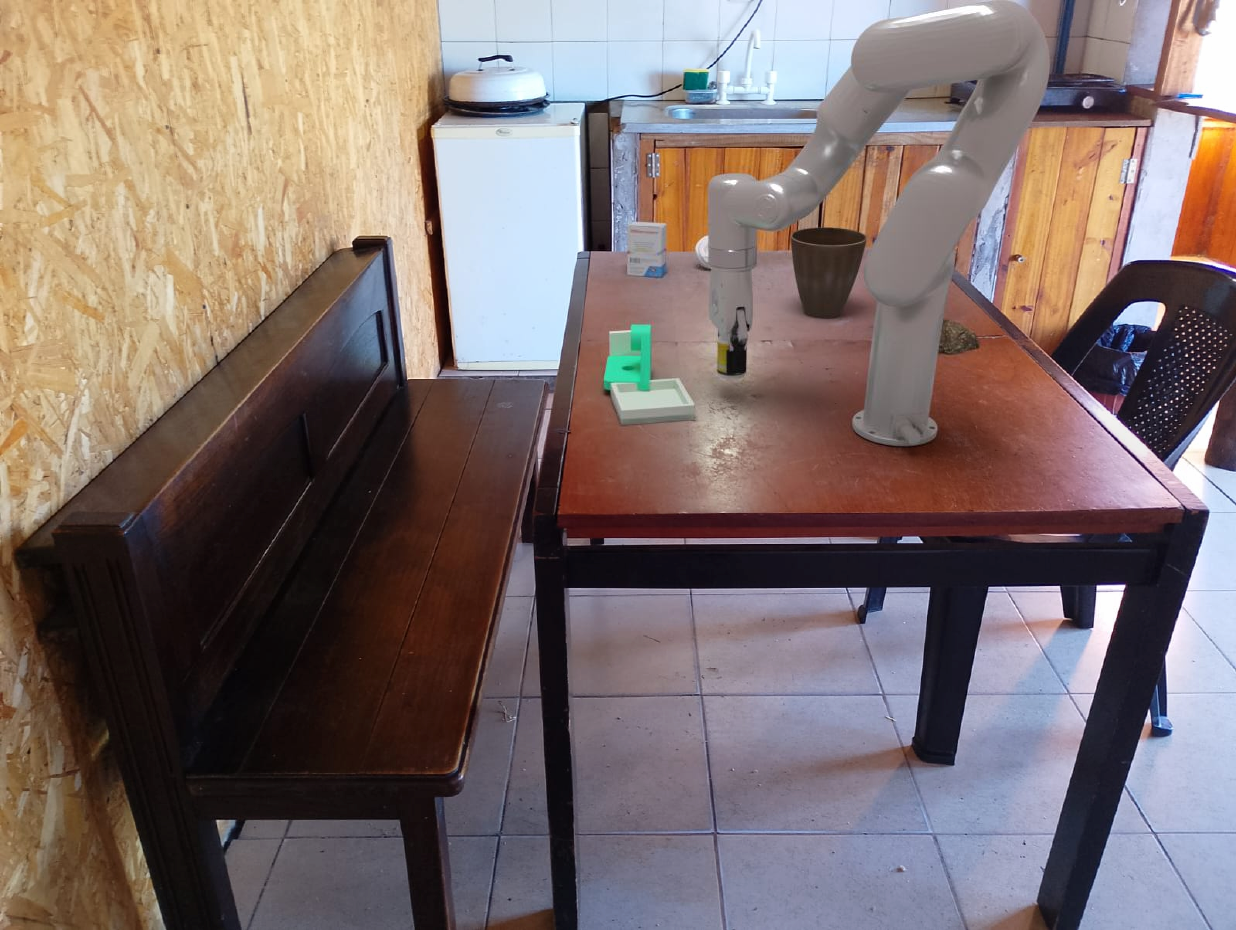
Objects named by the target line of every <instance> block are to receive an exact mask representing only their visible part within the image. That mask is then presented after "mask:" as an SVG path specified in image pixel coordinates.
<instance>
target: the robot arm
mask: <svg viewBox="0 0 1236 930" xmlns="http://www.w3.org/2000/svg"><path fill="white" fill-rule="evenodd" d="M1050 63H1051V59H1050V50H1049V44H1048V41H1047V38H1046V36H1045V33H1044V31H1043V30H1042V27H1041V26H1040V24H1039V22H1038V21H1037V19H1036V18H1035V17H1034V15H1033V14H1032V13H1031V12H1030V11H1029V10H1028V9H1027V8H1026V7H1024V5H1022V4H1019V3H1018V2H1015V1H1013V0H988V1H980V2H974V3H970V4H965V5H961V6H956V7H952V8H945V9H942V10H936V11H931V12H926V13H922V14H916V15H911V16H905V17H895V18H888V19H887V18H886V19H883V20H879V21H877V22H875V23H873V24H870V26H868V27H867V28H866V29H864V30H863V32H862V33H861V34H860V35H859V36H858V38H857V40H856V41H855V43H854V46H853V48H852V52H851V57H850V66H849V67H848V68H847V69H846V71H845V72H844V73H843V75H842V76H841V77H840V78H839V79H838V81H837V82H836V84H834V86H833V88H832V89H831V90H830V92H829V93H828V94H827V95H826V97H824V99H823V100H822V101H821V103H820V104H819V106H818V108H817V111H816V125H815V128H814V131H813V133H812V135H811V137H809V139H808V141H807V143H806V144H805V145H804V147H802V149H801V151H800V152H799V153H798V154H797V156H795V158H794V159H793V160H792V162H791V163H790V164H789V166H788V167H787V168H786V169H785V170H784V171H783V172H781V173H778V174H775V175H773V176H772V177H769V178H765V179H761V180H757V179H756V177H754V176H753V175H750V174H748V173H736V172H735V173H734V172H733V173H723V174H718V175H716V176H713V177H712V178H711V179H710V180H709V183H708V186H707V213H708V214H707V236H708V267H709V268H710V276H709V277H710V278H709V279H710V280H709V281H710V282H709V298H708V299H709V301H708V317H709V320H710V321H711V323H712V324H713V325H714V326H715V328H716V329H717V338H718V337H719V336H720V332H721V333H723V334H726V333H728V348H729V350H726V372H727V373H728V374H738V373H745V372H746V373H747V363H748V362H747V358H748V357H747V353H748V352H747V350H748V340H749V333H748V332H750V331H751V330H752V328H753V319H754V318H753V316H754V314H753V313H754V303H753V302H754V301H753V299H754V298H753V296H754V293H753V277H752V276H753V275H752V274H753V273H752V270H753V269H755V268H756V267H757V263H758V262H757V261H758V230H760V231H764V232H779V231H782V230H785V229H787V228H789V227H790V226H792V225H794V224H796V223H797V222H799V221H800V220H802V219H804V218H806V217H808V216H809V215H810V214H812V213H813V212H814V211H815V210H816V209H817V207H818V206H819V205H820V204H822V202H823V201H824V199H826V198H827V196H829V193H831V191H832V190H833V189H834V188H835V187H836V186H837V184H839V182H840V181H841V180H842V179H843V177H844V176H845V174H846V173H847V172H848V170H850V168H851V166H852V165H853V163H855V161H856V160H857V158H858V157H859V156H860V155H861V153H862V152H863V150H864V149H865V147H866V146H867V145H868V143H869V142H870V141H871V139H873V137H874V136H875V135H876V133H877V132H878V131H879V130H880V129H881V127H882V126H884V124H885V123H886V121H888V119H890V117H891V116H892V115H893V114H894V112H895V111H896V110H897V109H898V108H899V107H900V105H901V104H902V103H903V102H904V101H905V99H906V98H907V97H908V96H909V95H910V93H911V92H912V91H913V90H920V89H926V88H932V87H938V86H944V85H953V84H959V83H965V82H973V81H977V82H976V84H975V88H974V89H973V92H972V94H971V95H970V97H969V98H968V100H967V102H966V103H965V105H964V107H963V108H962V109H961V111H960V114H959V116H958V117H957V119H956V122H955V124H954V126H953V128H952V130H951V131H950V133H949V134H948V136H947V138H946V140H945V141H944V143H943V145H942V146H941V148H940V149H939V151H938V152H937V154H936V155H935V156H934V157H933V158H932V159H930V161H928V162H926V163H924V164H923V165H922V166H920V167H919V168H918V169H917V170H916V171H915V172H914V173H913V174H912V175H911V177H910V178H909V179H908V181H907V182H906V184H905V185H904V187H903V188H902V190H901V192H900V194H899V196H898V197H897V200H896V201H895V203H894V205H893V207H892V208H891V210H890V212H889V214H888V215H887V218H886V220H885V222H884V223H883V225H882V227H881V229H880V231H879V233H878V235H877V237H876V238H875V239H874V241H873V243H872V245H871V247H870V249H869V251H868V254H867V256H866V258H865V262H864V266H863V279H864V282H865V286H866V289H867V291H868V292H869V293H870V295H871V296H872V297H873V298H874V299H875V300H876V301H877V302H876V307H875V315H874V322H873V329H872V337H871V339H872V340H871V345H870V346H871V347H870V356H869V364H868V372H867V380H866V381H867V383H866V390H865V399H864V400H865V401H864V408H863V409H862V410H860V411H858V412H857V413H856V414H855V415H854V416H853V417H852V422H851V426H852V429H853V431H855V433H856V434H858V436H860V437H862V438H864V439H866V440H868V441H870V442H874V443H877V444H882V445H886V446H893V447H912V446H919V445H925V444H926V443H930V442H931V441H933V440H934V439H935V438H936V437H937V434H938V424H937V423H936V421H935V420H934V419H933V418H931V417H930V409H931V404H932V403H931V401H932V395H933V388H934V382H935V376H936V368H937V363H938V362H937V361H938V355H939V354H938V349H939V342H940V336H941V331H942V324H943V319H945V318H944V317H945V311H946V305H947V300H948V298H949V297H948V295H949V291H950V288H951V285H952V284H951V283H952V279H953V274H954V271H955V264H956V249H955V248H956V246H957V245H958V243H960V240H961V238H962V237H963V235H964V234H965V232H966V230H967V229H968V226H969V225H970V224H971V223H972V221H973V220H974V219H975V218H976V217H977V216H978V215H979V214H980V213H982V211H983V210H984V208H985V207H986V205H987V204H988V202H989V200H990V198H991V196H992V193H993V191H994V190H995V188H996V185H997V184H998V182H999V180H1000V178H1001V177H1002V175H1003V174H1004V172H1005V170H1006V168H1007V166H1008V165H1009V163H1010V162H1011V160H1012V158H1013V156H1014V154H1015V153H1016V150H1017V149H1018V147H1019V145H1020V144H1021V141H1022V139H1023V138H1024V136H1025V134H1026V133H1027V131H1028V130H1029V128H1030V126H1031V124H1032V122H1033V120H1034V119H1035V117H1036V115H1037V112H1038V110H1039V109H1040V106H1041V104H1042V102H1043V99H1044V96H1045V93H1046V91H1047V87H1048V83H1049V76H1050V67H1051V64H1050ZM733 327H737V331H731V330H732V328H733ZM733 335H737V338H734V341H733Z"/></svg>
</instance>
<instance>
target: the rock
mask: <svg viewBox="0 0 1236 930" xmlns="http://www.w3.org/2000/svg"><path fill="white" fill-rule="evenodd" d="M979 345H980V341H979V338H978V335H977V334H976V333H975V332H974V331H973V330H970V329H969V328H968V327H965V326H963V325H962V324H960V322H959V323H958V322H956V321H954V320H952V319H947V318H943V324H942V331H941V336H940V342H939V349H938V355H940V354H943V355H944V354H945V355H957V354H962V353H965V352H967V351H972V350H973V351H974V350H976V349H977V348H978V347H979Z"/></svg>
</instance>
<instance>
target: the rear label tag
mask: <svg viewBox="0 0 1236 930" xmlns="http://www.w3.org/2000/svg"><path fill="white" fill-rule="evenodd" d="M608 332H609V333H608V335H609V336H608V340H609V341H608V342H609V343H608V344H609V349H608V350H609V356H641V351H631V329H630V330H615V331H613V330H611V331H608Z"/></svg>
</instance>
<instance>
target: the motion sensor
mask: <svg viewBox="0 0 1236 930" xmlns="http://www.w3.org/2000/svg"><path fill="white" fill-rule="evenodd" d="M694 257H695V260H696V261H697V263H698V264H699V265H700V266H702V267H703V268H704V269H710V268H709V267H708V235H705V236H703V237H702V238H701V239H699V241H697V243H696V245H695V248H694ZM710 270H711V269H710Z"/></svg>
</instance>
